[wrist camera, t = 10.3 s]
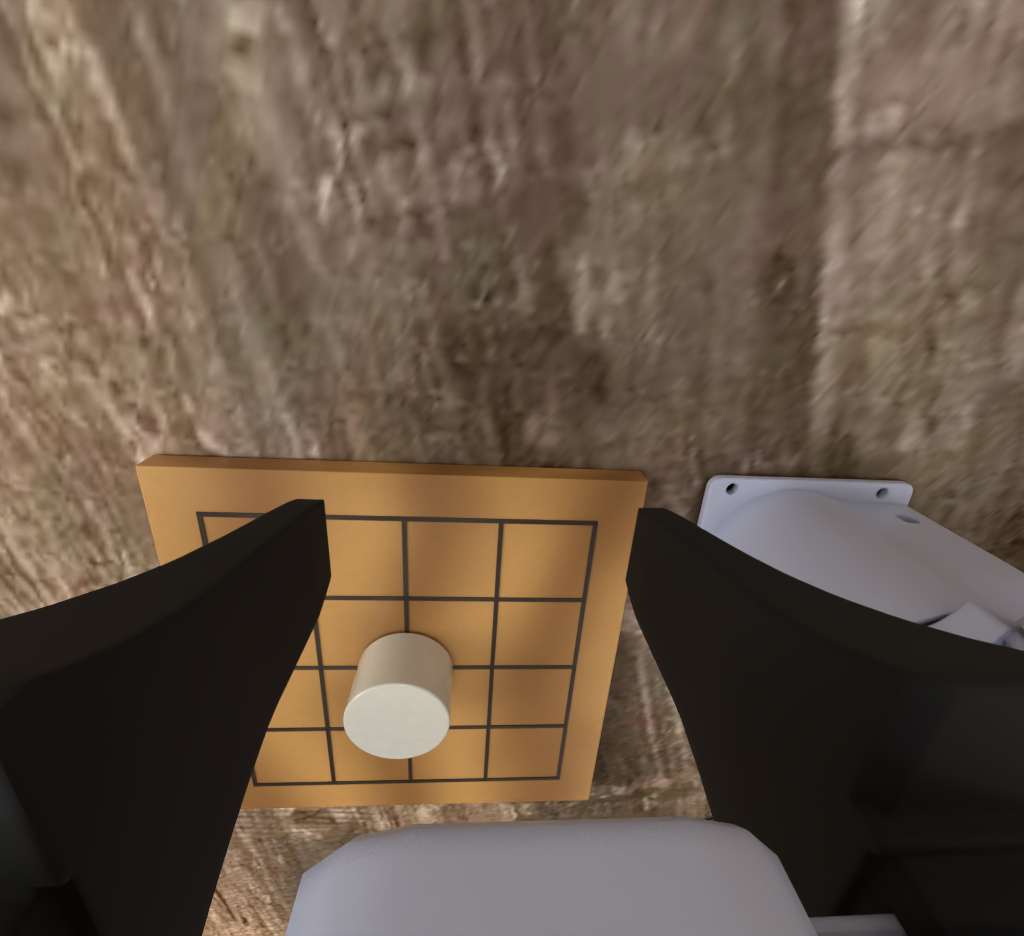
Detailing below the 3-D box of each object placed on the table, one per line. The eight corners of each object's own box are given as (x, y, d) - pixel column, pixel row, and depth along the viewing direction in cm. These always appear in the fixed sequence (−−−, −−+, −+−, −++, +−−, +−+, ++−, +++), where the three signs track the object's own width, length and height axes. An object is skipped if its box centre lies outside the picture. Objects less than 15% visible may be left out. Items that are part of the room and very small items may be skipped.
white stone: (454, 631, 23) (450, 683, 20) (452, 702, 24) (449, 759, 21) (355, 631, 22) (338, 684, 19) (361, 703, 24) (346, 761, 21)
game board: (640, 470, 21) (649, 482, 20) (584, 780, 29) (589, 802, 28) (153, 453, 20) (133, 466, 18) (231, 788, 27) (220, 811, 26)
